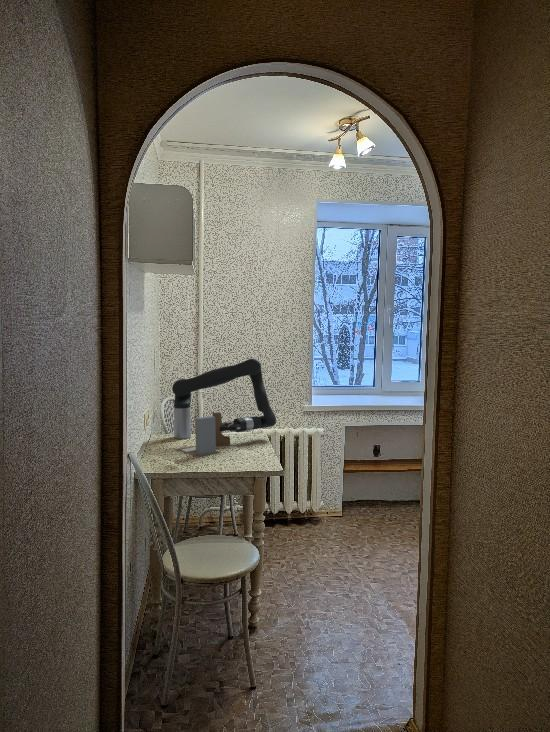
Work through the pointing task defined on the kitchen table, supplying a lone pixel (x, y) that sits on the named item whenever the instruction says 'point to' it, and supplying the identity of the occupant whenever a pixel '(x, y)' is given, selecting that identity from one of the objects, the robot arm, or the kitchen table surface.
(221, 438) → the wooden block
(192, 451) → the base board
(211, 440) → the slate post
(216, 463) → the kitchen table surface
